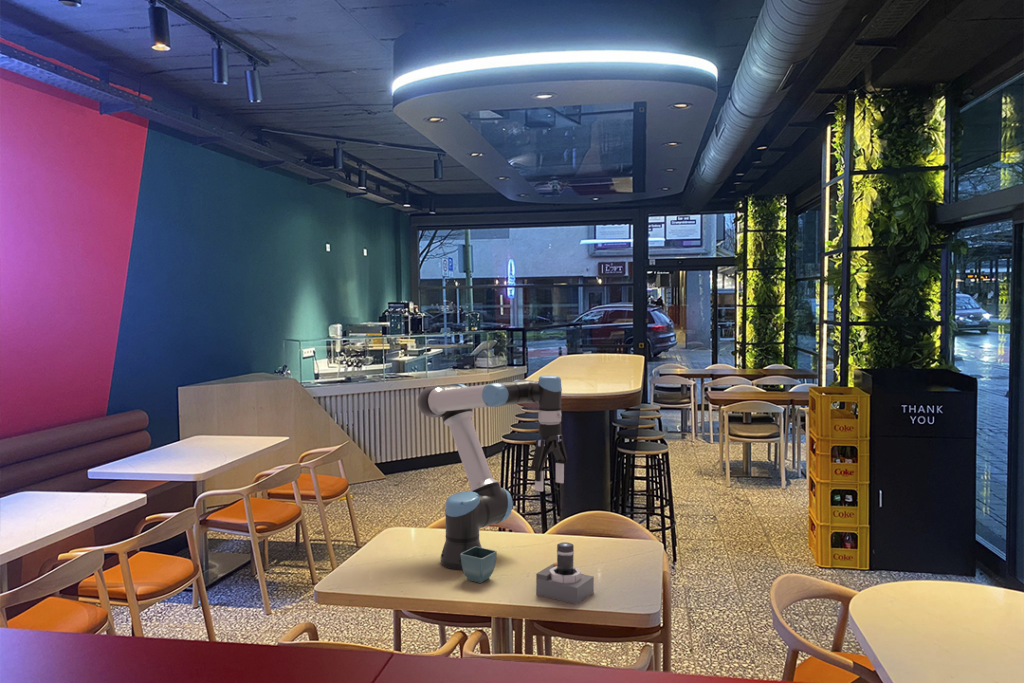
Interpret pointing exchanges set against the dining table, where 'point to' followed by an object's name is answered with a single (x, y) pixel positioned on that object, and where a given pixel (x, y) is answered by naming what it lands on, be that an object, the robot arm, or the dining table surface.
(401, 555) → the dining table surface
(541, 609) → the dining table surface
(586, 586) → the camera body
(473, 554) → the flower pot
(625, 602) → the dining table surface
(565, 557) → the lens
